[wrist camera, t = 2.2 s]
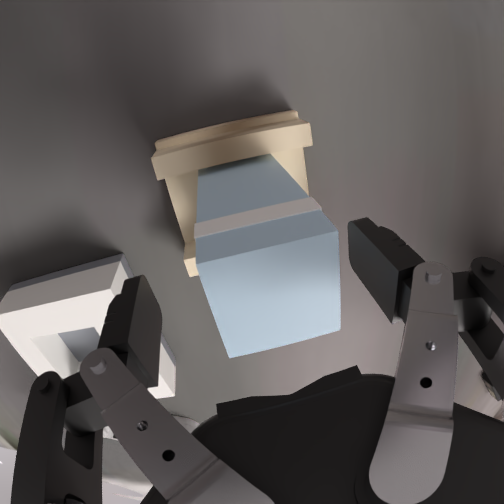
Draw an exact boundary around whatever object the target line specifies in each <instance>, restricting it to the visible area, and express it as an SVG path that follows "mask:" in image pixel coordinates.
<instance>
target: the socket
mask: <svg viewBox="0 0 504 504" xmlns="http://www.w3.org/2000/svg"><path fill="white" fill-rule="evenodd" d="M132 277H134V276H133V274H132V271H131V269H130V267H129V265H128V262H127V260H126V258H125V256H124V253H122V254H118V255H115V256H111V257H107V258H104V259H100V260H96V261H93V262H89V263H85V264H82V265H78V266H75V267H71V268H67V269H64V270H60V271H57V272H53V273H50V274H46V275H43V276H40V277H36V278H33V279H29V280H26V281H23V282H19V283H16V284H13V285H12V286H11V287H10V288H9V290H8V291H7V293H6V294H5V296H4V298H3V299H2V301H1V302H0V329H1V331H2V332H3V333H4V335H5V336H6V337H7V339H8V340H9V341H10V343H11V344H12V345H13V347H14V348H15V349H16V350H17V352H18V353H19V354H20V355H21V357H22V358H23V359H24V360H25V361H26V363H27V364H28V365H29V366H30V367H31V369H32V370H33V371H34V372H35V373H36V374H37V376H38V377H39V376H40V375H41V374H43V373H44V372H47V371H55V372H57V373H58V374H59V375H60V377H61V378H62V379H64V378H66V377H68V376H71V375H73V374H75V373H77V372H79V371H80V365H81V363H82V361H83V359H84V358H85V357H86V356H87V355H88V354H89V353H90V352H92V351H94V350H96V349H97V347H98V343H99V339H100V335H101V331H102V328H103V324H105V323H104V320H105V317H106V316H107V314H106V313H107V310H108V306H109V304H110V302H111V301H112V300H113V298H114V297H115V296H116V295H117V294H121V290H122V287H123V283H124V280H125V279H128V278H132ZM175 365H176V359H175V357H174V355H173V353H172V351H171V350H170V348H169V346H168V344H167V342H166V340H165V338H164V337H163V335H162V333H161V344H160V361H159V382H158V387H152V388H148V391H149V392H150V393H151V394H152V395H153V396H154V397H155V398H156V399H157V398H165V397H172V396H175Z"/></svg>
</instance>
